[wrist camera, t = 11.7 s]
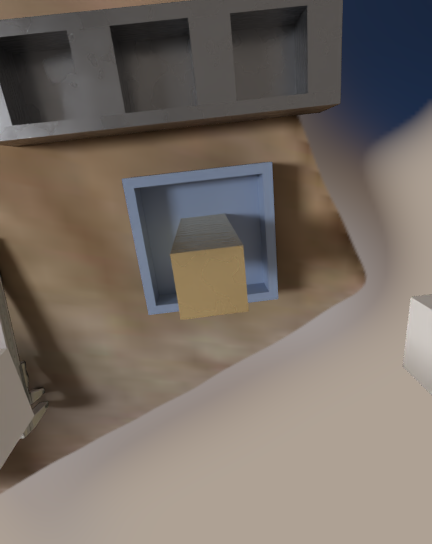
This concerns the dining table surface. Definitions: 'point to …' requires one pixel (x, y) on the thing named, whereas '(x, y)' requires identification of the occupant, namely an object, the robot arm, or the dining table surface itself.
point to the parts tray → (201, 202)
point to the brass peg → (208, 267)
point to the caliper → (19, 363)
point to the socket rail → (166, 67)
